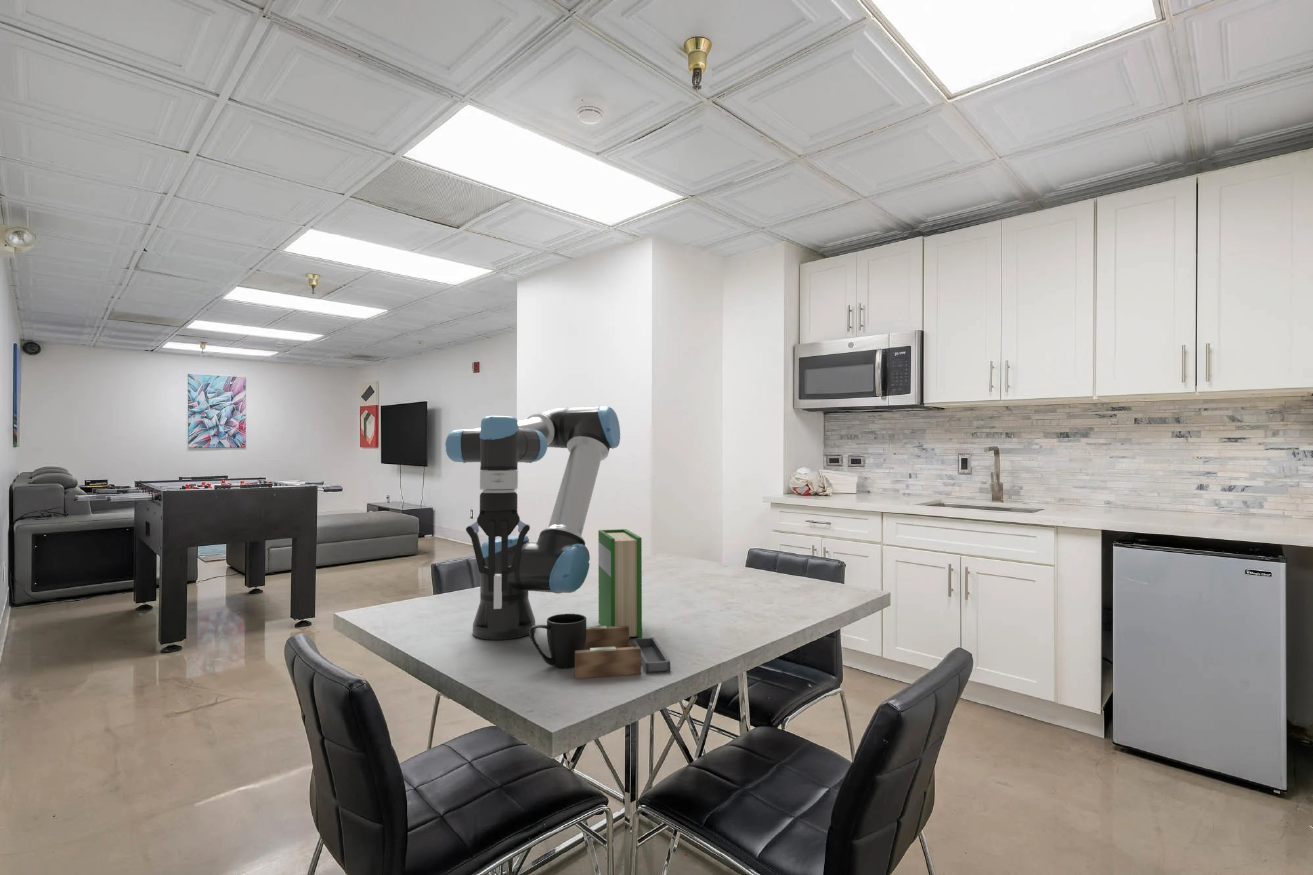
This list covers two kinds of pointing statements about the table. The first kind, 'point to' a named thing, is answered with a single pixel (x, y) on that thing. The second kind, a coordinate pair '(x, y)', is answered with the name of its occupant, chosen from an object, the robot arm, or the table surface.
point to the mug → (563, 639)
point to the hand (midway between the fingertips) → (497, 607)
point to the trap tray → (652, 655)
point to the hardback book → (620, 580)
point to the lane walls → (607, 653)
